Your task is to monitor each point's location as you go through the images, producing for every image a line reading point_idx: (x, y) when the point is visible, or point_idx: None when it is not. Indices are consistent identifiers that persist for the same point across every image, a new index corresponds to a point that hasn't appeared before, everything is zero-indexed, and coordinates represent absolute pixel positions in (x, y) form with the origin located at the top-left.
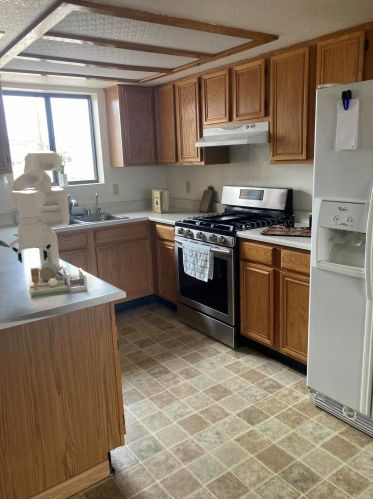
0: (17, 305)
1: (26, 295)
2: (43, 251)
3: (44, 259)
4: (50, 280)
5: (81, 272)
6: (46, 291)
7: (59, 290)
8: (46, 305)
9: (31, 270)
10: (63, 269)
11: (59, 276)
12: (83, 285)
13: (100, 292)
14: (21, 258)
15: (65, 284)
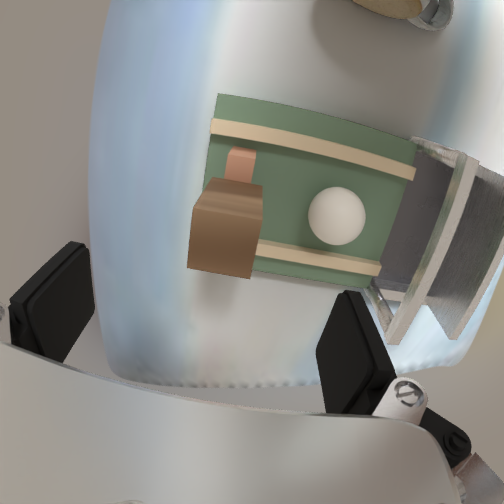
0: (136, 303)
1: (181, 196)
2: (342, 407)
3: (317, 356)
4: (323, 235)
5: (481, 280)
6: (273, 258)
7: (330, 281)
8: (232, 359)
9: (192, 265)
10: (456, 183)
11: (429, 29)
12: (438, 276)
13: (435, 336)
14: (73, 339)
15: (399, 203)
